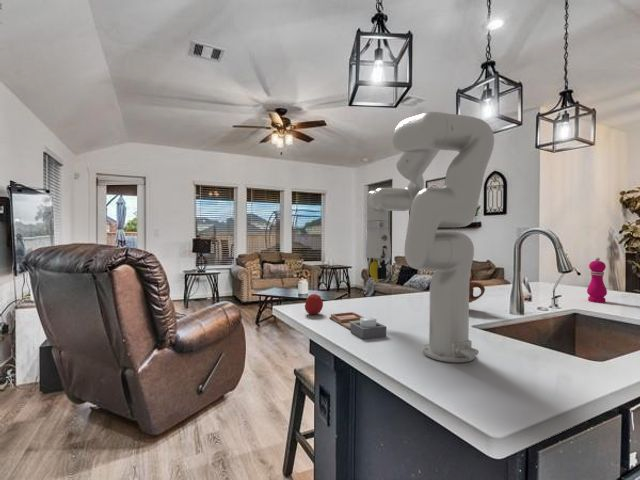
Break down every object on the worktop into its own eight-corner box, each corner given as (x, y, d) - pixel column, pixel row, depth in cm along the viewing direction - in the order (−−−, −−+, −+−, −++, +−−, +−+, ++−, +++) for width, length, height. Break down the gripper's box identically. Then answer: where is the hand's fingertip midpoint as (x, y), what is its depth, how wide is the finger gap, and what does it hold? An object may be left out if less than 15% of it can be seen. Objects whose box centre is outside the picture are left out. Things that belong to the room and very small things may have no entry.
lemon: (385, 283, 125) (385, 259, 125) (368, 282, 126) (368, 259, 126) (385, 281, 130) (385, 258, 130) (370, 280, 132) (370, 258, 131)
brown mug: (488, 310, 147) (489, 275, 147) (481, 315, 137) (481, 278, 137) (439, 304, 159) (439, 272, 159) (429, 308, 149) (429, 274, 149)
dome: (379, 333, 111) (379, 320, 111) (364, 335, 109) (364, 321, 109) (371, 329, 116) (371, 316, 115) (357, 331, 114) (357, 318, 114)
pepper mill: (582, 300, 167) (583, 256, 167) (594, 299, 170) (595, 256, 169) (599, 303, 160) (599, 258, 160) (610, 302, 163) (611, 257, 162)
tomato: (325, 292, 139) (306, 287, 141) (318, 307, 133) (298, 302, 135) (325, 305, 144) (307, 300, 146) (319, 321, 138) (300, 315, 141)
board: (380, 328, 119) (380, 323, 119) (353, 331, 115) (353, 326, 115) (354, 316, 136) (354, 311, 136) (329, 318, 132) (329, 314, 132)
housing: (386, 336, 110) (386, 326, 110) (362, 339, 107) (362, 329, 107) (372, 329, 117) (372, 320, 117) (350, 332, 114) (350, 322, 114)
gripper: (400, 226, 121) (400, 280, 122) (374, 226, 137) (374, 274, 138) (380, 226, 118) (380, 281, 119) (356, 226, 135) (356, 275, 135)
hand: (377, 277), depth 128 cm, fingers closed on lemon, 5 cm apart
